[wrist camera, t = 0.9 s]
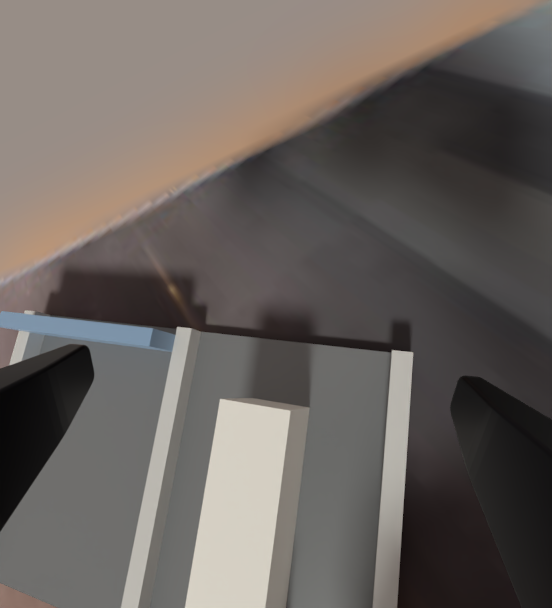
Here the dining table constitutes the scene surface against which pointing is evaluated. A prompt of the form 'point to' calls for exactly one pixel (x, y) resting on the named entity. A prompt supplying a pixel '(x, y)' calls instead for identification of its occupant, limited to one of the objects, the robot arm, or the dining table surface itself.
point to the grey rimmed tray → (206, 465)
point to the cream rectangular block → (249, 506)
